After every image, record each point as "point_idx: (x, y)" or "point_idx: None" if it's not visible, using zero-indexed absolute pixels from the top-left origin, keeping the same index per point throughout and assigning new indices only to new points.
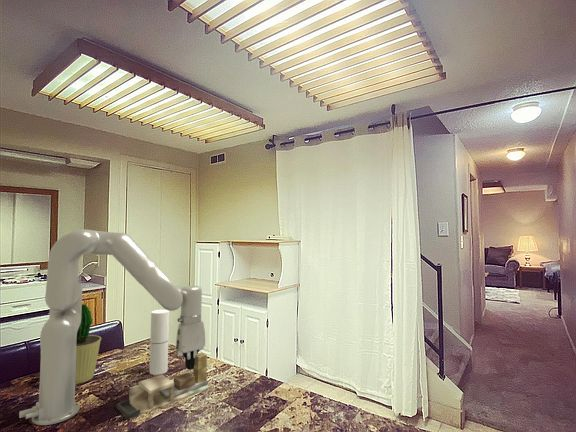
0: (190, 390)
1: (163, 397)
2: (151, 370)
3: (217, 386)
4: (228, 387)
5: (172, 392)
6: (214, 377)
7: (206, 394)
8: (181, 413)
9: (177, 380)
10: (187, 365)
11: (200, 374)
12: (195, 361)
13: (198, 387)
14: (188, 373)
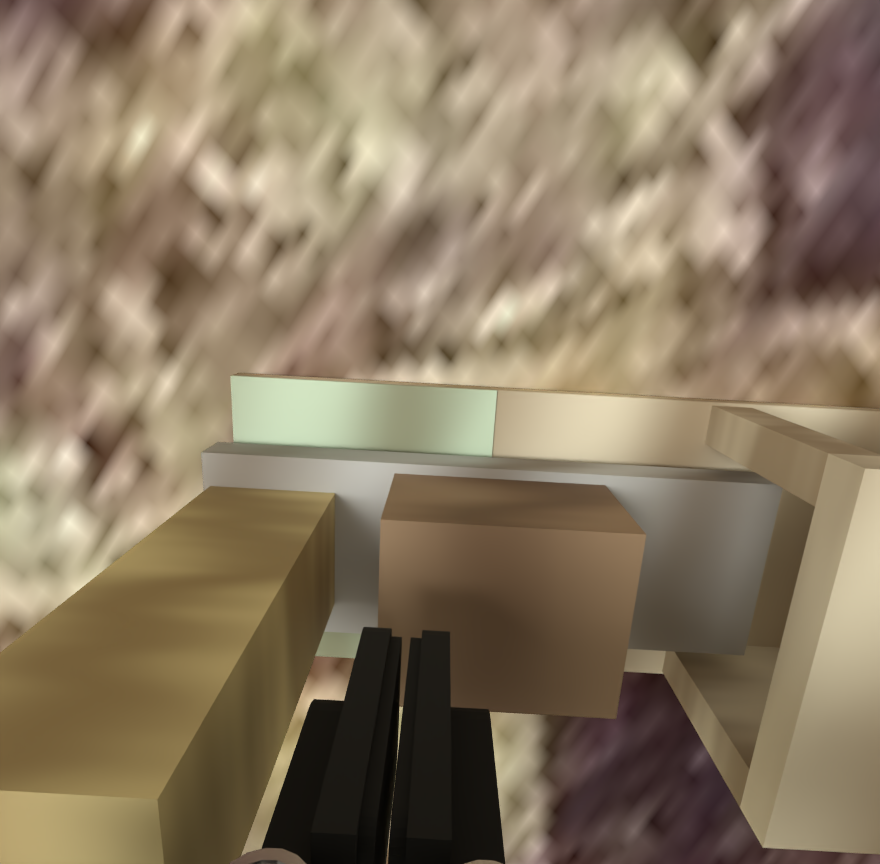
0: None
1: None
2: None
3: (145, 348)
4: (48, 218)
5: (791, 429)
6: (60, 564)
7: (353, 273)
8: (823, 90)
9: (630, 605)
10: (490, 737)
11: (266, 536)
12: (236, 788)
13: None
14: None
